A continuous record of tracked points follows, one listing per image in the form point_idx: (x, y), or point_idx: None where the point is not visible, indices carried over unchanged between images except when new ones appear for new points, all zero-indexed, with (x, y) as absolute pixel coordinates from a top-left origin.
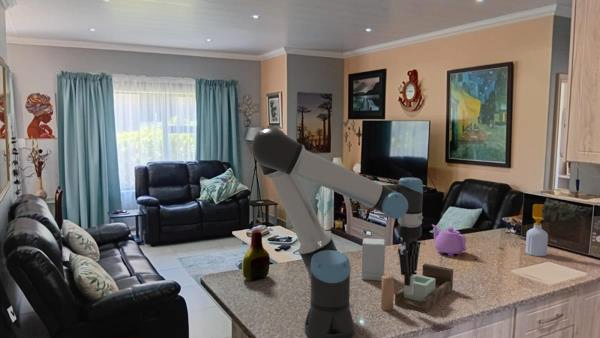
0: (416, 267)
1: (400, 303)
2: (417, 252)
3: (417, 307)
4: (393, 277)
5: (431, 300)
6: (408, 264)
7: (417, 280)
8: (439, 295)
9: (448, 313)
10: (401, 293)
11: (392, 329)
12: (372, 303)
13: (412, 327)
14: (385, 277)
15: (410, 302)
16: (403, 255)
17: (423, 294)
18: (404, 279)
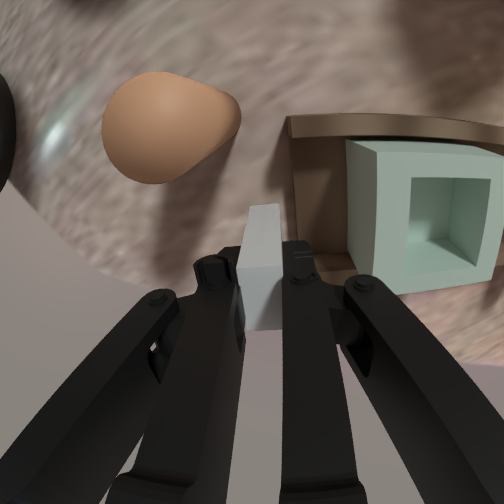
0: (367, 355)
1: (290, 146)
2: (422, 494)
3: (297, 233)
4: (187, 166)
5: None
6: (144, 430)
7: (475, 182)
8: None
9: None
10: (333, 135)
11: (90, 244)
12: (213, 35)
13: (150, 282)
14: (130, 118)
15: (315, 190)
16: (42, 490)
17: (357, 259)
18: (242, 248)
